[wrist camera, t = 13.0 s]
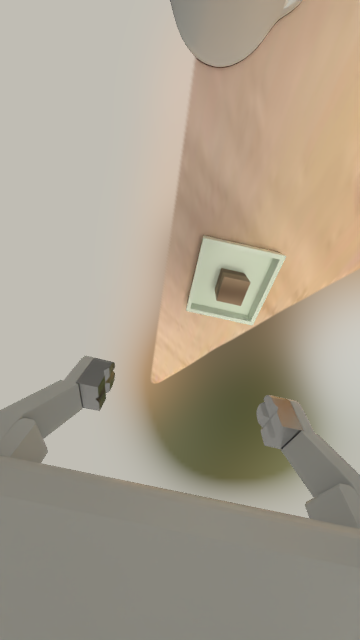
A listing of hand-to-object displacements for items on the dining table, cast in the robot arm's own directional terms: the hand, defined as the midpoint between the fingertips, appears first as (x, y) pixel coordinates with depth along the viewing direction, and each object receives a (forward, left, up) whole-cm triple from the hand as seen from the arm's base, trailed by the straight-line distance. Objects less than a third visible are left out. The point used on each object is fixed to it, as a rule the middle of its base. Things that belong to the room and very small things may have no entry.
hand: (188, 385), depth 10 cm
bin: (+4, +8, -34) cm, 35 cm away
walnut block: (+4, +8, -33) cm, 34 cm away
